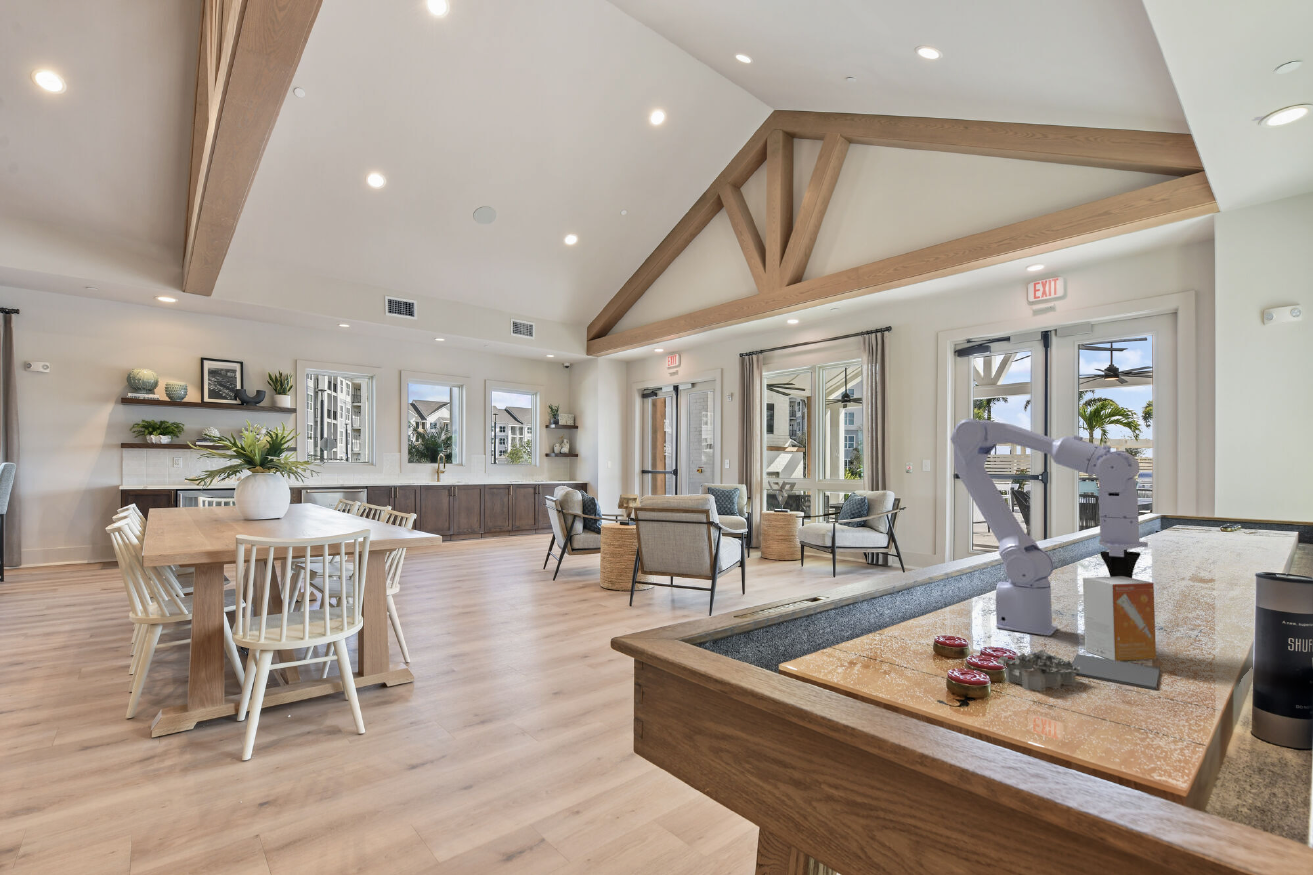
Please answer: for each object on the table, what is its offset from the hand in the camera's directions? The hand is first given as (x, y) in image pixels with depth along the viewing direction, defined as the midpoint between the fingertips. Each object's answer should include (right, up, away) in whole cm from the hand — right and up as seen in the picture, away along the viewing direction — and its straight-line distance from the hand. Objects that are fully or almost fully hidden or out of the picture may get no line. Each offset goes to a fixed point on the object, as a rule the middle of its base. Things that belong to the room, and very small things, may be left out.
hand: (1121, 591), depth 111 cm
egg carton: (-26, -10, -17) cm, 33 cm away
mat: (-12, -9, -14) cm, 20 cm away
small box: (-5, -10, -6) cm, 12 cm away
